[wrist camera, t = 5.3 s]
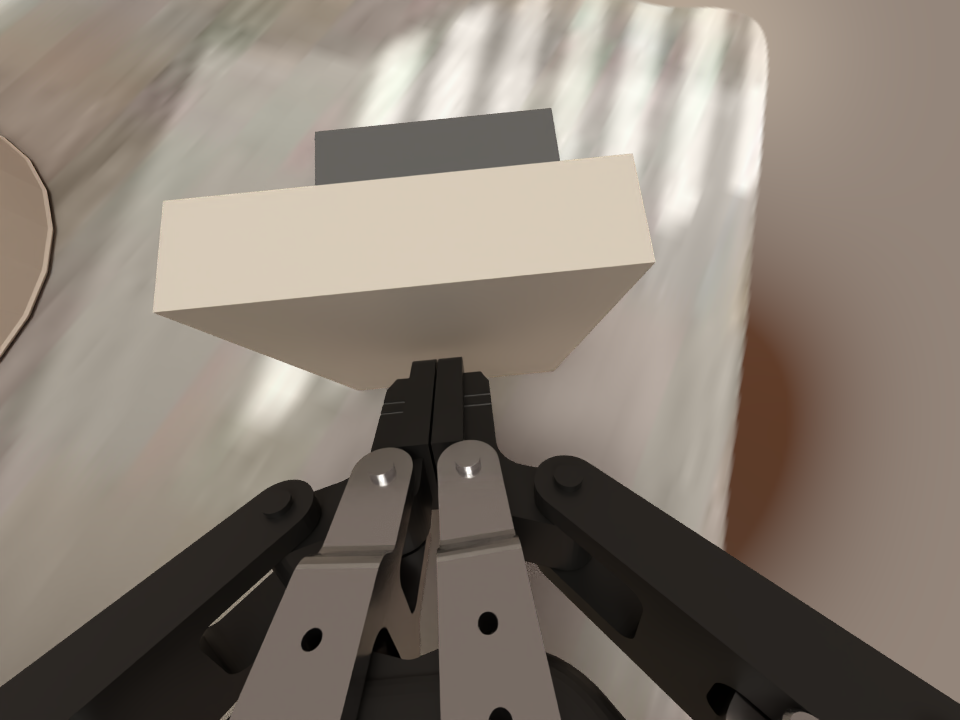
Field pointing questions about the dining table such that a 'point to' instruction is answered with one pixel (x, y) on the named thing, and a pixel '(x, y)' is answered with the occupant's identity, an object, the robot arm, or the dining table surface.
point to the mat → (435, 146)
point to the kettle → (21, 240)
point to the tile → (410, 267)
